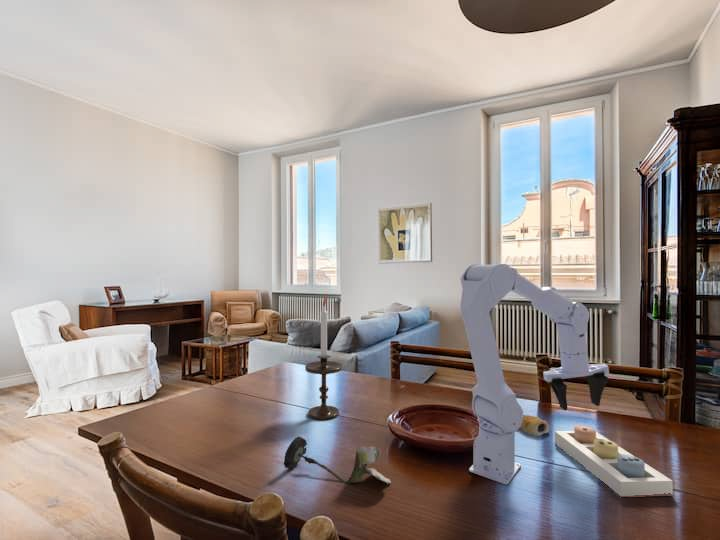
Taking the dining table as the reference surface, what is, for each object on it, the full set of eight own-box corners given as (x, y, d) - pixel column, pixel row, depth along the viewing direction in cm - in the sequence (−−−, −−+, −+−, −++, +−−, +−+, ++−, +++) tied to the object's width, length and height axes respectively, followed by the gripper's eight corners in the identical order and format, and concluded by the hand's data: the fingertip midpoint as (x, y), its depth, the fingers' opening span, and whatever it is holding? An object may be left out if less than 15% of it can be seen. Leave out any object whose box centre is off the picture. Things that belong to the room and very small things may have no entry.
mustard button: (623, 462, 78) (623, 447, 78) (602, 462, 78) (602, 447, 78) (608, 452, 83) (608, 437, 83) (589, 452, 83) (589, 438, 83)
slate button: (650, 481, 71) (650, 464, 71) (628, 481, 71) (628, 464, 71) (632, 468, 76) (632, 453, 76) (611, 469, 76) (611, 453, 76)
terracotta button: (600, 446, 85) (600, 432, 85) (581, 446, 85) (581, 432, 85) (587, 437, 90) (588, 424, 90) (570, 438, 90) (570, 425, 90)
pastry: (506, 424, 103) (506, 410, 103) (524, 420, 106) (524, 407, 106) (534, 438, 94) (534, 423, 94) (552, 433, 97) (552, 419, 97)
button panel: (672, 496, 70) (672, 480, 70) (621, 497, 69) (621, 481, 69) (594, 442, 92) (594, 430, 92) (554, 443, 91) (554, 431, 91)
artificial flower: (302, 462, 85) (313, 417, 87) (392, 502, 75) (402, 450, 77) (278, 470, 77) (291, 420, 79) (376, 515, 67) (387, 457, 69)
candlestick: (344, 408, 114) (344, 295, 114) (338, 422, 104) (339, 297, 104) (310, 406, 115) (310, 294, 116) (301, 420, 105) (301, 297, 105)
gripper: (593, 342, 92) (599, 395, 92) (535, 350, 92) (541, 403, 93) (612, 350, 85) (618, 407, 85) (549, 358, 85) (555, 415, 86)
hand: (579, 406), depth 89 cm, fingers open, 7 cm apart
